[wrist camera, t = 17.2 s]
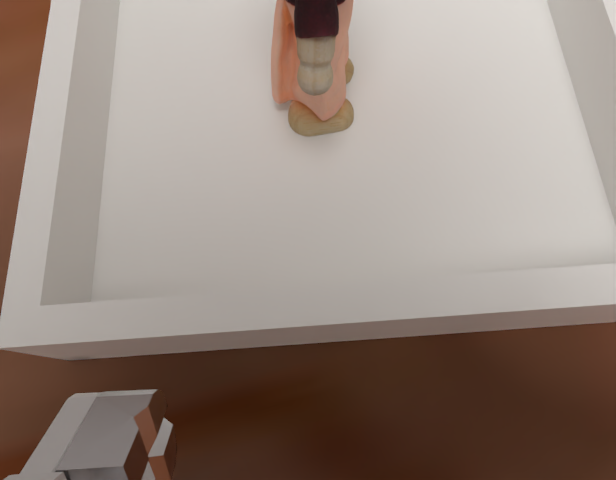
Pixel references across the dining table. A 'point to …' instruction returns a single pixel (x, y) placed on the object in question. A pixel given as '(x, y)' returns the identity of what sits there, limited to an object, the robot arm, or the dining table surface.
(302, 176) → the tray
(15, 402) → the dining table surface
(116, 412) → the robot arm
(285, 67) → the grandmother figurine
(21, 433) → the dining table surface
